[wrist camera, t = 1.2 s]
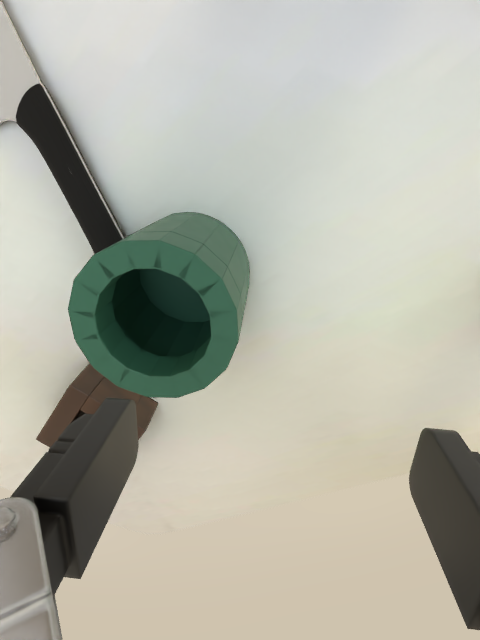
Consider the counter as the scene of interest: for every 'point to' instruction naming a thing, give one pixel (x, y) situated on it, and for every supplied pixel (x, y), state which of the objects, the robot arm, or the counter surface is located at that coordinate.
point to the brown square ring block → (92, 404)
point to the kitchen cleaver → (51, 137)
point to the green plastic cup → (163, 305)
